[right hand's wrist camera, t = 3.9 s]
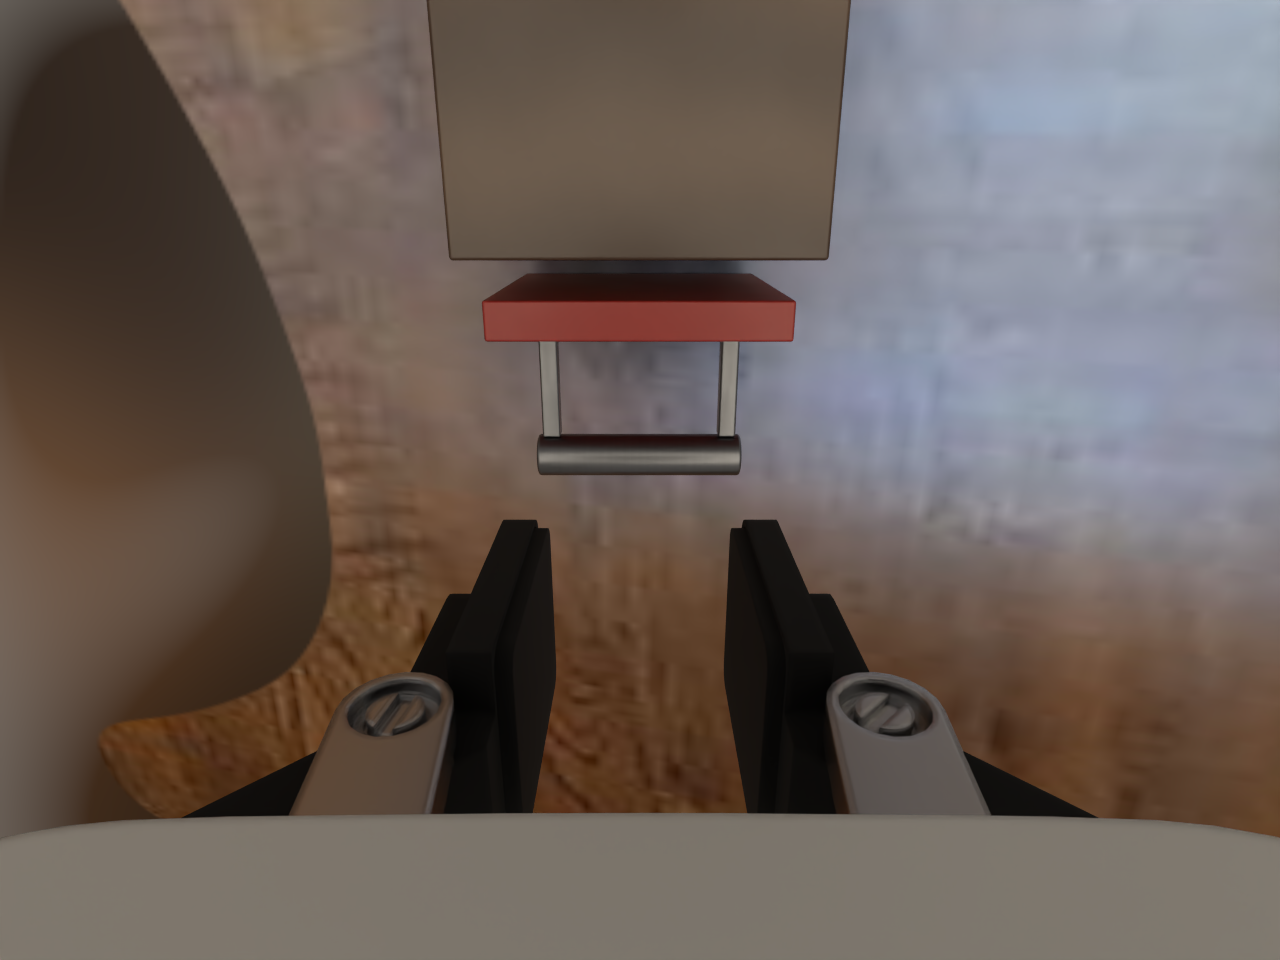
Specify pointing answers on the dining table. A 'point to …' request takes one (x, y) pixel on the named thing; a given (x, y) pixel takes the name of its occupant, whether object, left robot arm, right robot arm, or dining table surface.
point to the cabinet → (638, 127)
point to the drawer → (639, 315)
